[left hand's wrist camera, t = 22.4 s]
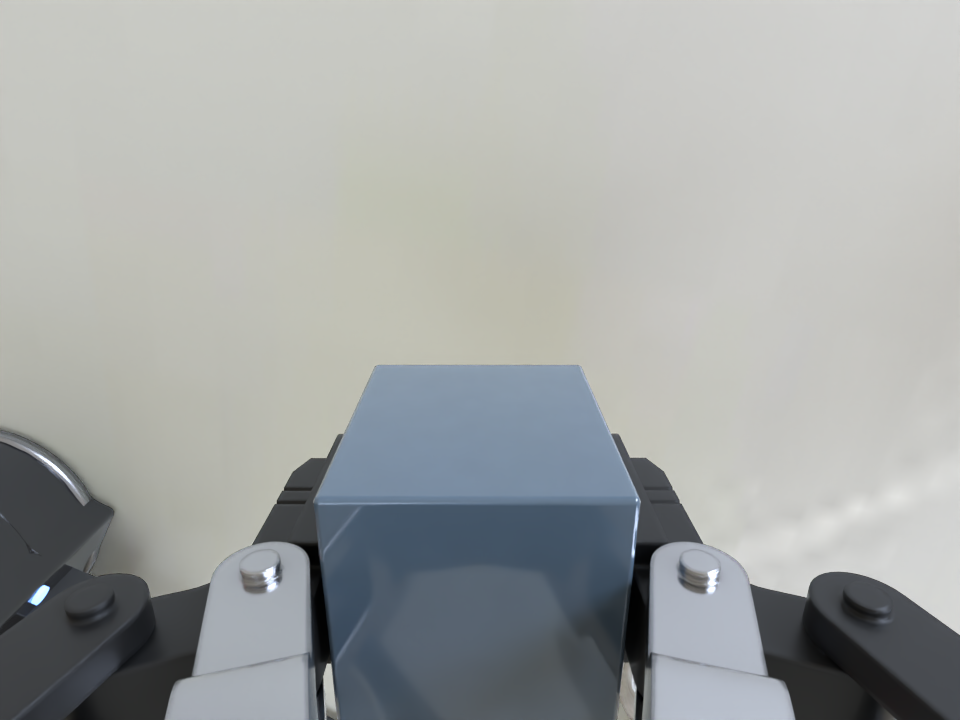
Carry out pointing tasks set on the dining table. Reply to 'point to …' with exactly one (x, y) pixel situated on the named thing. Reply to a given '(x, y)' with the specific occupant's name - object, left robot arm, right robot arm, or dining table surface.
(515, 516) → the block
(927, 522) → the dining table surface
